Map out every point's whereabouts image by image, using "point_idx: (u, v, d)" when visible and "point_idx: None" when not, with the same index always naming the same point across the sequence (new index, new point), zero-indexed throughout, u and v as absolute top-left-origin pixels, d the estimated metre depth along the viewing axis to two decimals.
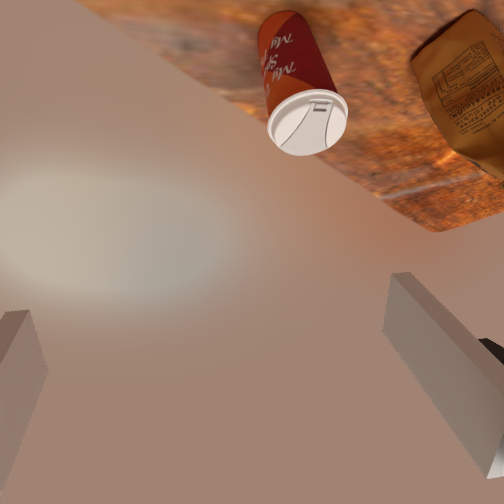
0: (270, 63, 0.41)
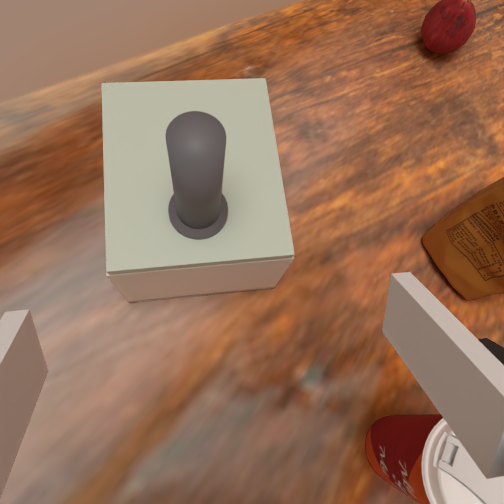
0: (401, 487, 0.32)
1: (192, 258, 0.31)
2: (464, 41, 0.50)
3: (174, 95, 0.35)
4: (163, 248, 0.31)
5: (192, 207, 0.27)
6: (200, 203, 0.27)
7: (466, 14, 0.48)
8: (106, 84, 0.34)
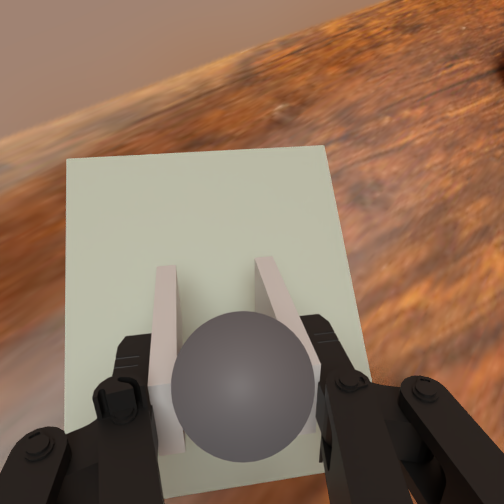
0: None
1: (215, 479, 0.18)
2: None
3: (182, 176, 0.22)
4: (164, 461, 0.18)
5: None
6: None
7: None
8: (74, 161, 0.21)
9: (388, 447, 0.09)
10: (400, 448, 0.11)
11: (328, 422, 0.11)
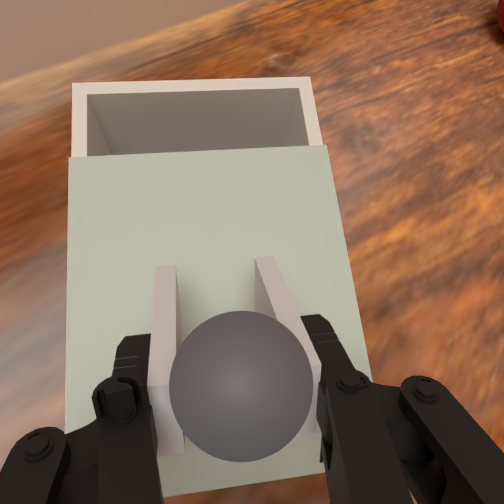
0: None
1: (215, 478, 0.18)
2: None
3: (184, 175, 0.22)
4: (164, 459, 0.18)
5: None
6: None
7: None
8: (76, 160, 0.21)
9: (388, 447, 0.09)
10: (401, 449, 0.11)
11: (329, 422, 0.11)
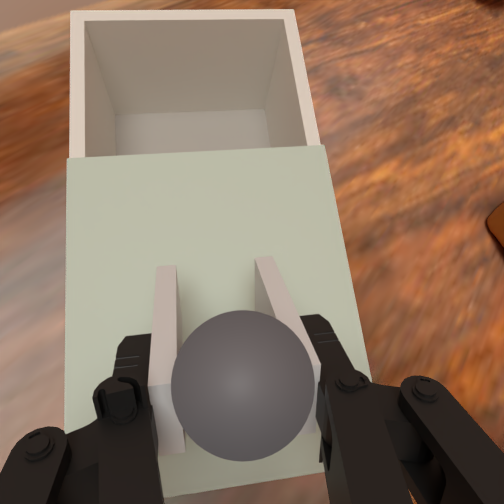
0: None
1: (215, 478, 0.18)
2: None
3: (183, 176, 0.22)
4: (164, 460, 0.18)
5: None
6: None
7: None
8: (74, 161, 0.21)
9: (388, 447, 0.09)
10: (400, 448, 0.11)
11: (328, 422, 0.11)
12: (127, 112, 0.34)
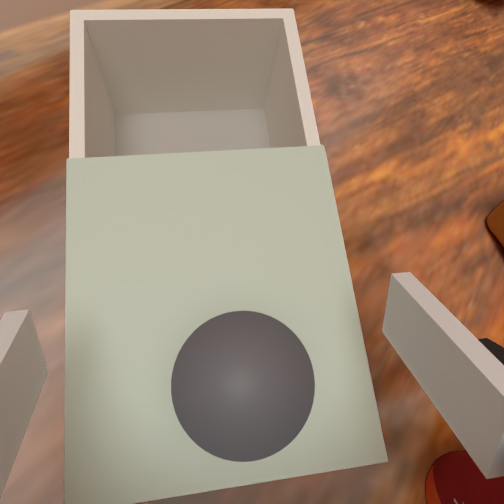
0: None
1: (215, 479, 0.18)
2: None
3: (183, 176, 0.22)
4: (164, 460, 0.18)
5: None
6: None
7: None
8: (74, 161, 0.21)
9: None
10: None
11: None
12: (127, 112, 0.34)
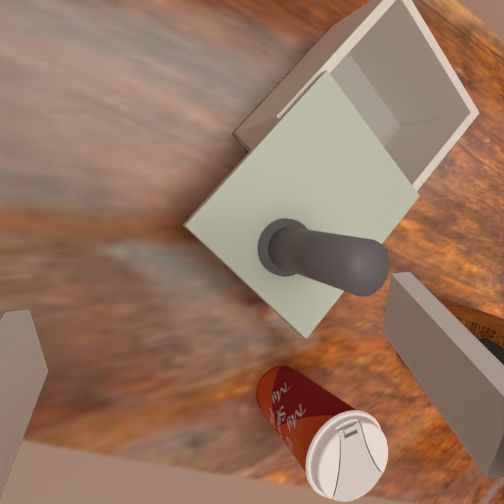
0: (279, 416, 0.40)
1: (247, 276, 0.32)
2: None
3: (358, 140, 0.34)
4: (237, 248, 0.31)
5: (293, 266, 0.28)
6: (303, 274, 0.28)
7: None
8: (328, 75, 0.32)
9: None
10: None
11: None
12: None
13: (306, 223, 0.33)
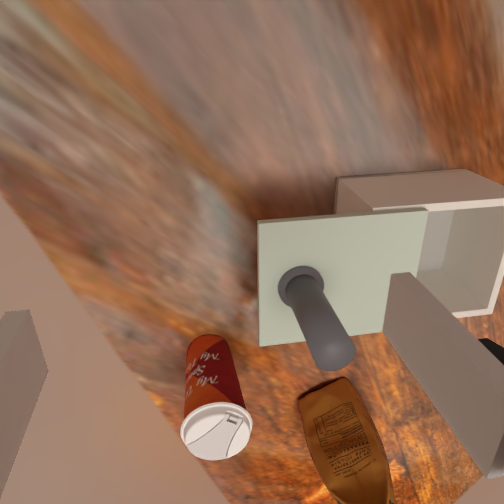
0: (197, 370, 0.49)
1: (263, 282, 0.40)
2: None
3: (404, 266, 0.41)
4: (273, 262, 0.39)
5: (296, 308, 0.36)
6: (297, 318, 0.36)
7: None
8: (426, 214, 0.39)
9: None
10: None
11: None
12: None
13: (326, 284, 0.41)
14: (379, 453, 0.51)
